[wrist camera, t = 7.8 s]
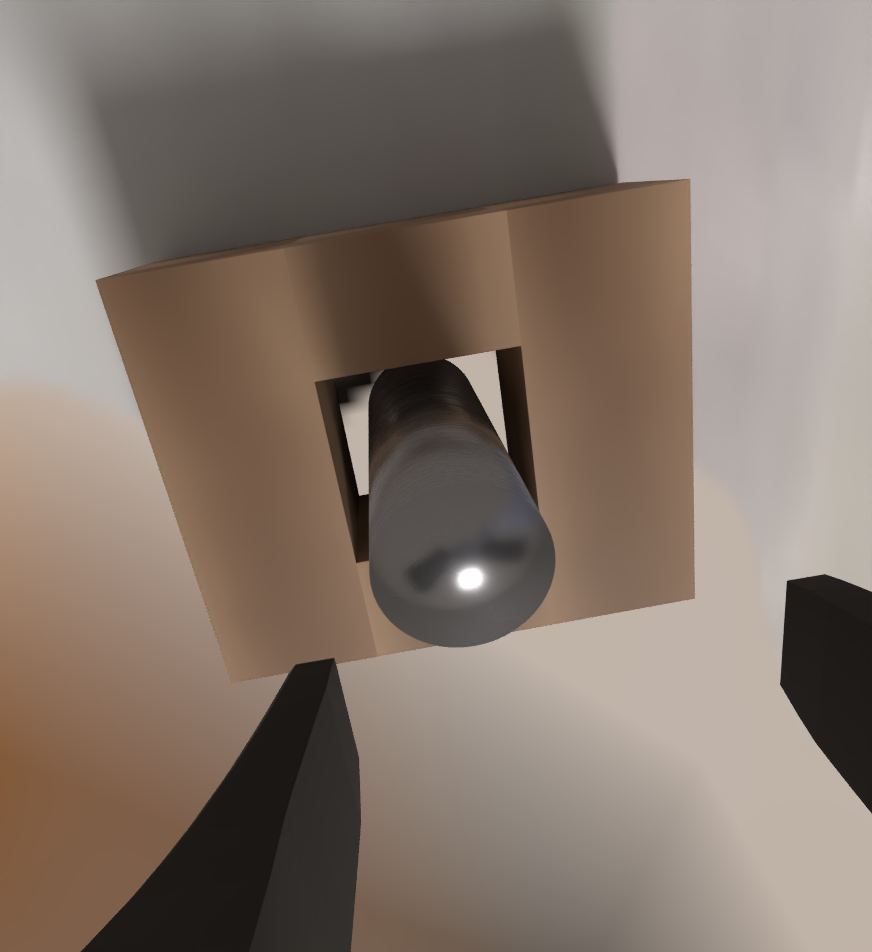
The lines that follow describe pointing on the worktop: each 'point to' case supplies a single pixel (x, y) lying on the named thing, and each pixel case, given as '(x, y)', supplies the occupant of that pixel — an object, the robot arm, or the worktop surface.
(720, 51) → the worktop surface
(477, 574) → the peg
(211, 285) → the hole block
